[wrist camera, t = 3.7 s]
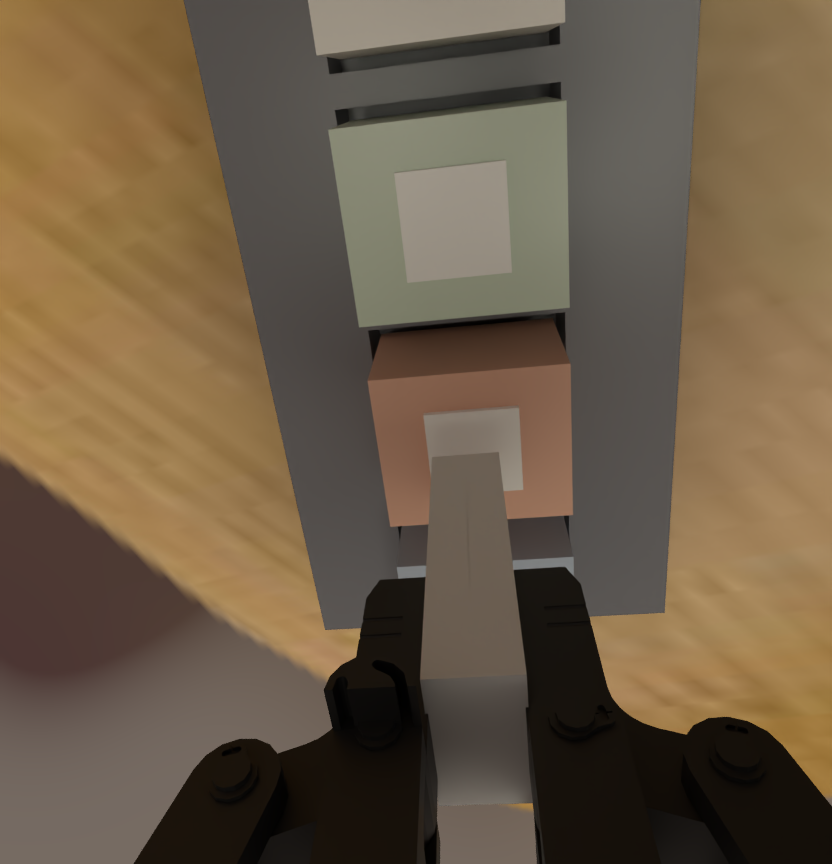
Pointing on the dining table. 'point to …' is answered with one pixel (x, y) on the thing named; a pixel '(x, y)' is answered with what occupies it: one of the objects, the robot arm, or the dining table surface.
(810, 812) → the robot arm
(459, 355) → the key
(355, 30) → the key
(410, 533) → the key
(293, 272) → the keypad
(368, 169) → the key
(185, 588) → the dining table surface
